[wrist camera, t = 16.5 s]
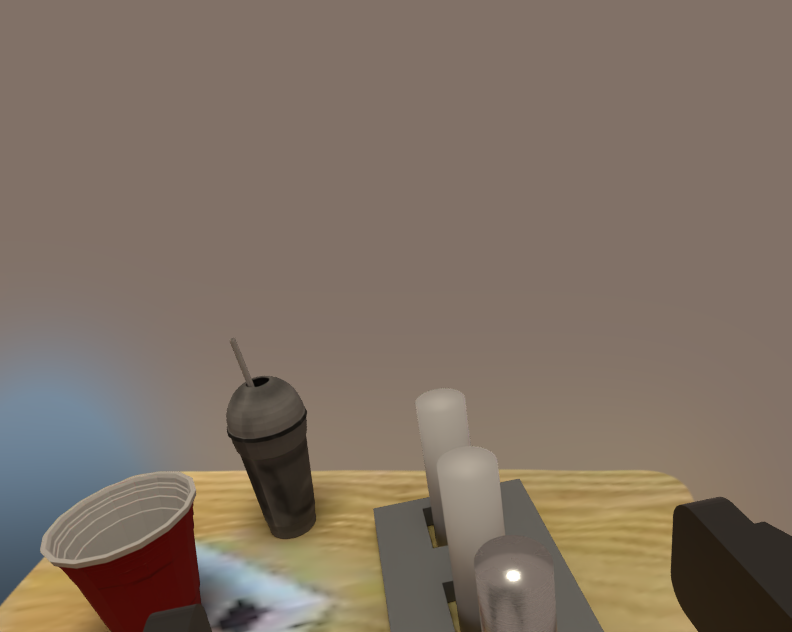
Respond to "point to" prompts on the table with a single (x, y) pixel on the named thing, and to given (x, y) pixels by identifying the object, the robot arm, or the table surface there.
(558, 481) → the table surface
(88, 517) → the plastic cup
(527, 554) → the steel pin
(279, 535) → the beverage cup
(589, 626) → the pin board
